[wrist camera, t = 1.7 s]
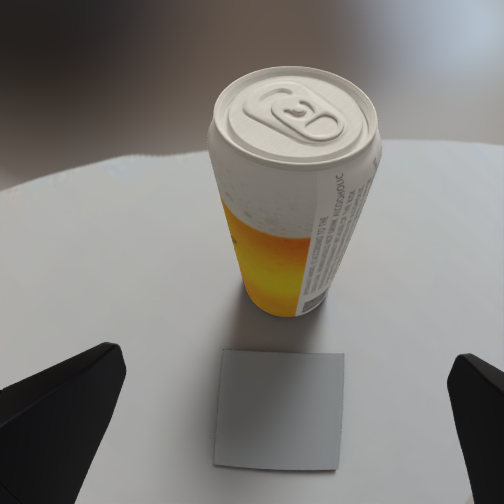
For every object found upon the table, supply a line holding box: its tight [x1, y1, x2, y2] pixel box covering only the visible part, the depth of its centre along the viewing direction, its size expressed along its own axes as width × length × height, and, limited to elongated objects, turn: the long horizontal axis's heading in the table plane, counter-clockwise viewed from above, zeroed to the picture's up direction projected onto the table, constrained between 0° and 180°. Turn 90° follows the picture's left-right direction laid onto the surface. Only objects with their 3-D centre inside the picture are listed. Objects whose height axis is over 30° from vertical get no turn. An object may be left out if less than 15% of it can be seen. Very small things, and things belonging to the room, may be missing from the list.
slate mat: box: [214, 349, 344, 470], centre depth 18 cm, size 8×8×1 cm
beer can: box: [207, 66, 382, 317], centre depth 16 cm, size 6×6×15 cm
